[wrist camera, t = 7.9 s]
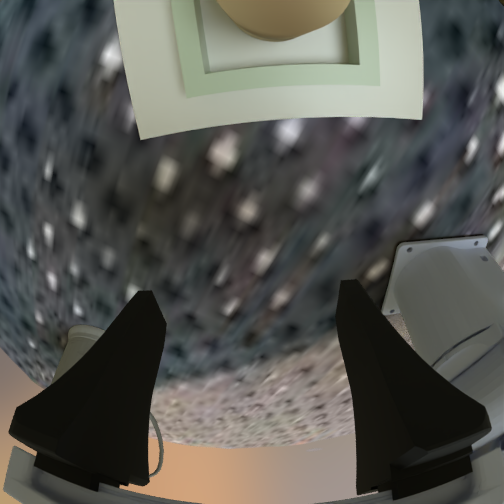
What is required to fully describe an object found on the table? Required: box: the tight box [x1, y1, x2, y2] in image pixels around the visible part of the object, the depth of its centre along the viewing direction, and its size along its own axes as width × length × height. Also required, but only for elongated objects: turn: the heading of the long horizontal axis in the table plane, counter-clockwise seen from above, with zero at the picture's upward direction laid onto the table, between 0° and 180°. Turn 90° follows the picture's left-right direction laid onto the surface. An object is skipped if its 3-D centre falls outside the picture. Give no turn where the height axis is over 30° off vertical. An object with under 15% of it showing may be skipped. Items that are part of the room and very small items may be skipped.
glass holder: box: [51, 325, 164, 477], centre depth 25 cm, size 9×14×15 cm, turn 59°
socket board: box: [114, 0, 423, 140], centre depth 10 cm, size 16×13×3 cm
